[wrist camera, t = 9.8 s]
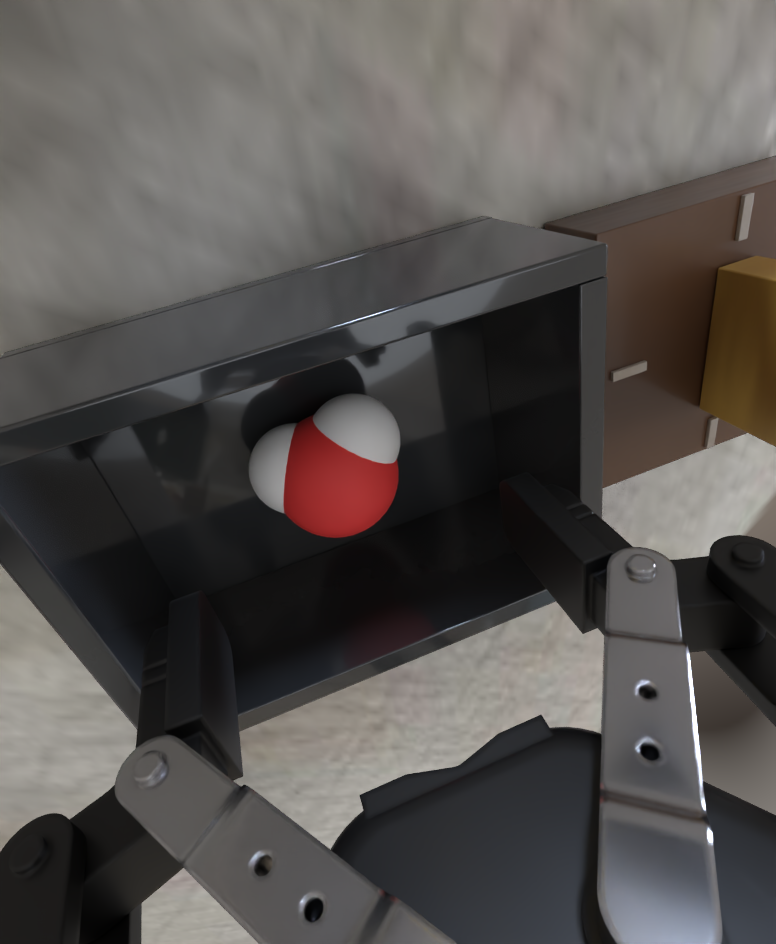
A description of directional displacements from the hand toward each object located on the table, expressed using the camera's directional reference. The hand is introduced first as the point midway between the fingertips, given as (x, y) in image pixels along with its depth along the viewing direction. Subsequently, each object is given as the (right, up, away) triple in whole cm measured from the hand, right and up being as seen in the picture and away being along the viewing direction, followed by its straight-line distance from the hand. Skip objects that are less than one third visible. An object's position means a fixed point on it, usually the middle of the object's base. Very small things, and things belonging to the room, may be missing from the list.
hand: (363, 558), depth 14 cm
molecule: (-2, +4, +6) cm, 7 cm away
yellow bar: (+13, +7, +6) cm, 16 cm away
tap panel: (+12, +9, +9) cm, 17 cm away
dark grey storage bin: (-2, +4, +6) cm, 8 cm away
